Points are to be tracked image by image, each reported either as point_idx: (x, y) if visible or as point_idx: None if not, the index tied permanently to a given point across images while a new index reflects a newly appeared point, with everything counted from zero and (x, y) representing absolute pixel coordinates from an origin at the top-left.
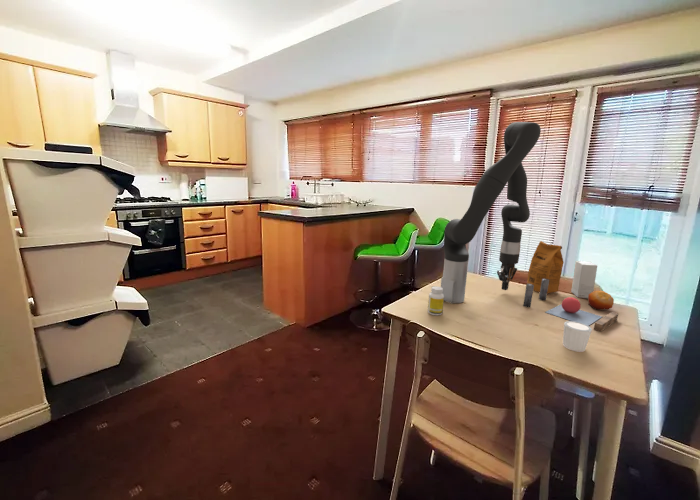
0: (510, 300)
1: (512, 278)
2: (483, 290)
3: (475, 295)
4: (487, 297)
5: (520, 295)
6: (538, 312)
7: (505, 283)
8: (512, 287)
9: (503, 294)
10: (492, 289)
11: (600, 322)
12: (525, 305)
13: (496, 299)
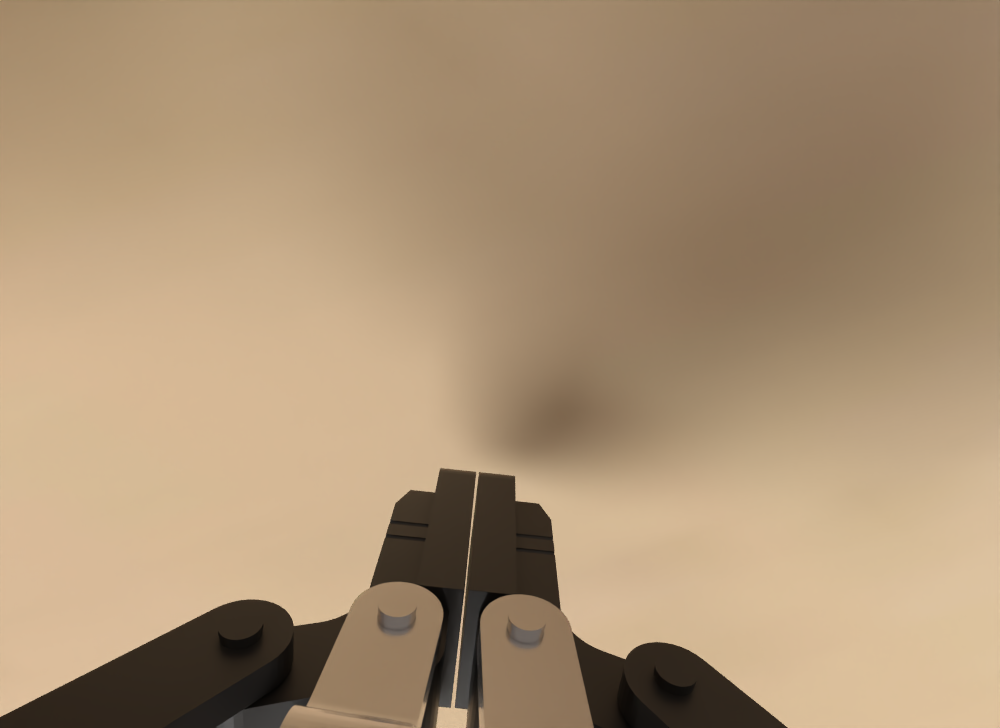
0: (825, 224)
1: (223, 624)
2: None
3: (977, 707)
4: (949, 562)
5: (332, 200)
6: None
7: (555, 603)
8: (2, 492)
9: (563, 449)
10: None
11: None
12: None
13: (954, 426)
